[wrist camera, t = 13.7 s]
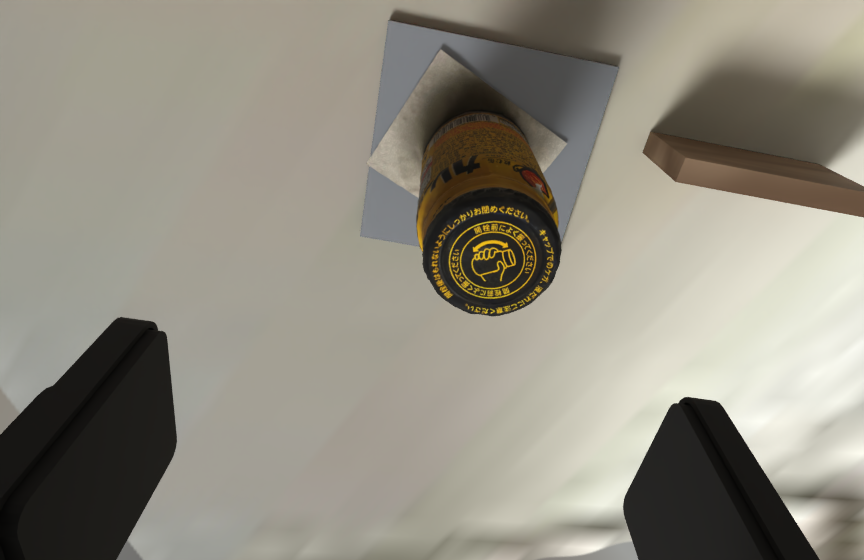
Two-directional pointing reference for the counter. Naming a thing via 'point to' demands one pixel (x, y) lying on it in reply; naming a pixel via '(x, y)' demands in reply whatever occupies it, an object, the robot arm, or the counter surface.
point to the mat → (510, 76)
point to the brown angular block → (754, 174)
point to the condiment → (476, 189)
